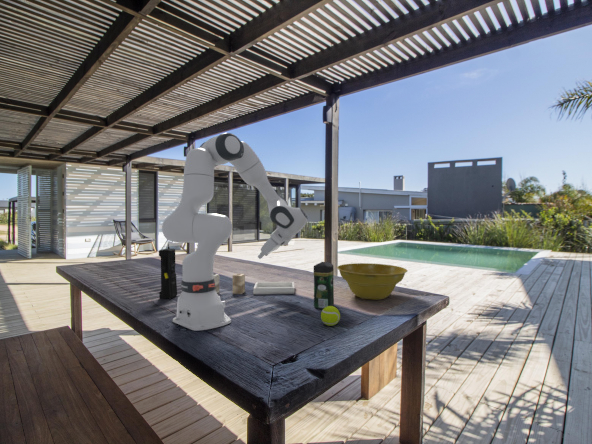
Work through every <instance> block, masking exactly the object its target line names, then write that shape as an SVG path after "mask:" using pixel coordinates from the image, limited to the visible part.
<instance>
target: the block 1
mask: <svg viewBox="0 0 592 444" xmlns="http://www.w3.org/2000/svg"><path fill="white" fill-rule="evenodd" d="M213 278H214V280H215V286H216V289H215V290H216V292H217V294H218V293H220V273H213Z"/></svg>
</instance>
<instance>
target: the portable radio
mask: <svg viewBox="0 0 592 444" xmlns="http://www.w3.org/2000/svg"><path fill="white" fill-rule="evenodd" d="M158 256H159V257H160V291H159V293H158V294H159V295H158V296H159V299H161V300H171V299H173V298H175V297H176V296H177V295H178V289H177V288H178V287H177V285H178V284H177V273H176V249H175V248H170V244H169V243H167V248H163V249H159V250H158Z"/></svg>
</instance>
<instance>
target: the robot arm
mask: <svg viewBox="0 0 592 444" xmlns="http://www.w3.org/2000/svg"><path fill="white" fill-rule="evenodd" d="M228 163H229V164H231V165H232V166H233V167H234V168H235V170H236V172H237V174H238V175H239V176H240V178H241V179H242V180H243V181H244V183H246V184H247V185H248V186H252V187H255V188H256V189H257V191H259V193H260V194H261V195H262V197H263V198H264V200H265V202H266V204H267V206H266V207H267V210H268V214H269V218H270V221H271V222H272V223H273V224H275V225H277V227H276V229H275V230H274V231H273V232H272V233H271V234H270V235H269V236H270V237H269V238H268V239H267V240H266V241H265V243H264V244H263V245H262V246H261V248H260V253H259V255H257V258H258V259H259V260H261V259H263V258H264V256H269V255H270V253H272V252H275V251H276V250H277V249H279V248H280V247H282V246H287V245H289V243H290V242H291V241H292V240H293V238H294V237H295V235H297V234H298V233H299V232H301V231H302V230H303V228H304V227H305V226H306V225H307V223H308V221H309V219H308V216H307V214H306V213H305V211H304V210H303V209H302V208H301V207H294V206H293V207H292V206H289V204H288V202H287V199H285V198H284V197H282V196H281V195H280V194H278V193H277V192H276V190H275V188H274V187H273V185H272V184H271V182H270V181H269V179H268V174H267V172H266V170H265V169H266V168H265V166H264V165H263V163H262V161H261V159H260V158H259V156H258V155H257V153H256V152H255V151H254V150H253V148H252V147H251V146H250V145H249V144H248V143H247V142H246V141H241V139H240V138H239V137H238V136H237V135H235V134H234V133H232V132H223V133H220V134H219V135H216V136H212V137H210V138H209V139H208V140H206V141H204V142H203V143H202V144H200V146H199V147H196V148H191V149H190V150H189V151H188V152H187V154H186V158H185V162H184V168H183V186H182V192H181V193H182V195H181V198H180V201H179V203H178V205H177V207H176V208H175V210H174V211H173V212H172V213H170V214H169V215H167V217H165V219H164V220H163V222H162V224H161V232H162V235H163V236H164V238H165V239H166V240H168V241H170V242H174V243H179V244H182V243H185V244H186V243H187V244H188V243H189V244H190V243H191V244H192V243H196V244H197V247H196V250H195V251H191V253H189V254H187V255H185V256H184V258H183V260H182V263H181V265H182V267H181V268H182V269H181V270H182V272H181V273H182V280H181V282H180V283H181V284H180V287H181V293H180V295H178V297H177V305H176V316H175V317H173V318H172V323H174V324H176V325H177V324H178V326H179V325H180V326H181V327H183V328H187V329H189V330H192V331H195V332H196V331H197V332H198V331H207V330H211V329H216V328H219V327H220V328H221V327H224V326H226V325H228V324H231V323H232V319H231V317H230V316H228V315H227V313H226V312H225V308H226V301H225V300H222V299H221V296H220V295H219V294H218V293H217V292H216V290H215V289H216V286H215V280H214V278H213V274H214V266H215V265H214V263H215V256H216V253H217V252H218V250H219V248H220V247H221V245H223V244H224V243H225V242H226V241H227V240H228V239H229V238H230V237H231V236H232V232H233V224H232V221H231V220H230V217H228V216H227V215H224V214H219V213H199V211H200V209H201V208H202V207H203V206H204V205H206V204H208V203H210V202H211V201H212V199H213V198H214V194H215V192H214V191H215V189H214V188H215V167H218V166H221V165H225V164H228Z"/></svg>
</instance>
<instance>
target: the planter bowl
mask: <svg viewBox="0 0 592 444" xmlns="http://www.w3.org/2000/svg"><path fill="white" fill-rule="evenodd" d="M336 269H337V270H338V272H339V274H340V277H341V278H342V279H343V280H344V281H346V282H347V285H348V287H349V289H350V291H351V293H352V294H354V295H355V296H356V297H358V298H360V299H364V300H365V299H366V300H383V299H386V298H388V297H389V296H390V295H391V294H393V292H394V289H395V288H396V285H397V284H399V283H401V281H402V280H403V279H404V277H405V274H406V273H407V272H408V270H407V268H406V267H405V268H404V267H402V266H398V265H393V264H383V263H369V262H367V263H365V262H364V263H361V262H360V263H346V264H345V263H344V264H340V265H338V266H336Z"/></svg>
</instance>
